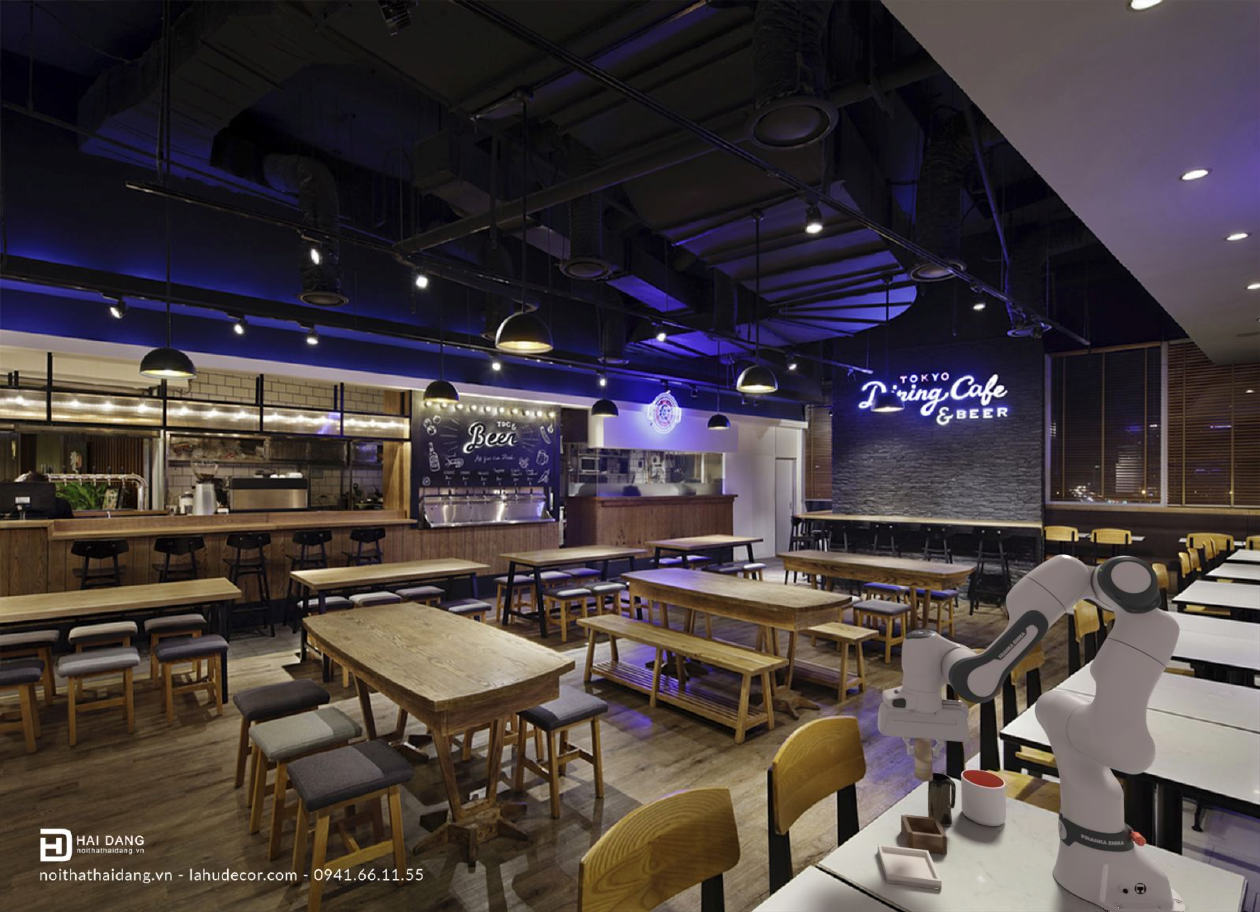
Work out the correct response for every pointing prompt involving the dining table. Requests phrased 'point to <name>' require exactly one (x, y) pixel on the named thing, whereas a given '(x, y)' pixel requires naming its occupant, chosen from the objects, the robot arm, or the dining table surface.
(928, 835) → the holder
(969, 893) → the dining table surface
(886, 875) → the tray
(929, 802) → the mug
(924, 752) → the dowel
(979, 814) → the cup
